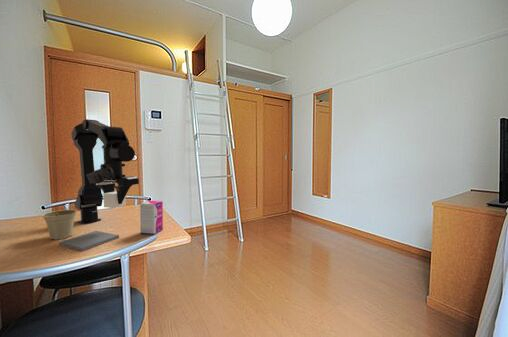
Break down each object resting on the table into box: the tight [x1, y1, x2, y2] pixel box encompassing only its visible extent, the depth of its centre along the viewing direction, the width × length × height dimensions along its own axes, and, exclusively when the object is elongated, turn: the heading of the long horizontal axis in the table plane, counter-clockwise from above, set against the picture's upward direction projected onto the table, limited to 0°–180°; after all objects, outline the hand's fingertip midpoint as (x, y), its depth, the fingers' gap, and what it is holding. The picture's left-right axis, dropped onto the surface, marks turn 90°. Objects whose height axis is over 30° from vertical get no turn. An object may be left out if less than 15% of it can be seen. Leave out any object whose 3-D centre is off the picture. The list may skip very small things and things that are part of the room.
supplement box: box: [139, 200, 164, 236], centre depth 88 cm, size 6×6×12 cm
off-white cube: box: [102, 190, 127, 209], centre depth 87 cm, size 5×5×5 cm
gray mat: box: [58, 230, 120, 252], centre depth 79 cm, size 12×12×1 cm
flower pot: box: [41, 209, 78, 241], centre depth 83 cm, size 9×9×9 cm
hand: (114, 203), depth 87 cm, fingers closed on off-white cube, 5 cm apart
